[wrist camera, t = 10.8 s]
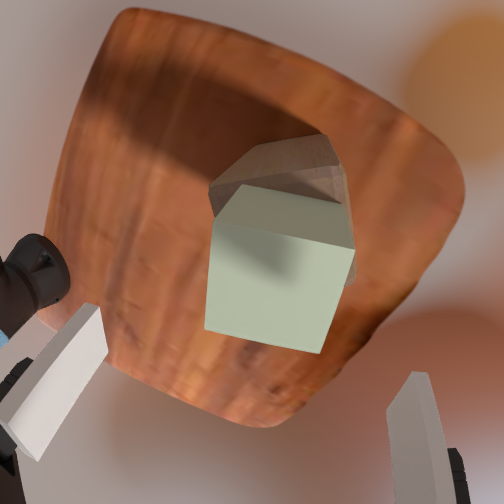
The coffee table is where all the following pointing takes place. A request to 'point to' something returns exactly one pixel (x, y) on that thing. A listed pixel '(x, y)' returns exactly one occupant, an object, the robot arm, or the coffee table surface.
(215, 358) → the coffee table surface
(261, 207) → the sage cube
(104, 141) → the coffee table surface
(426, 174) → the coffee table surface
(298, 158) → the wooden block
